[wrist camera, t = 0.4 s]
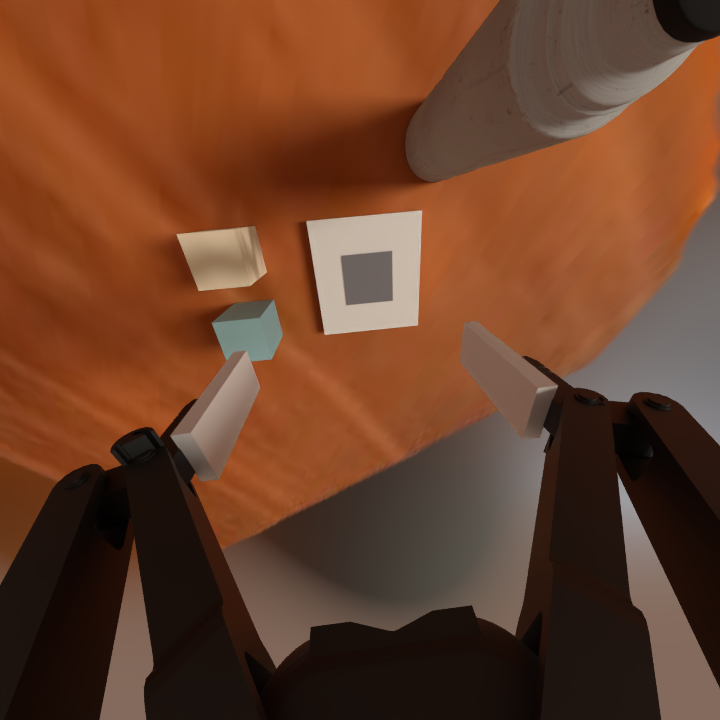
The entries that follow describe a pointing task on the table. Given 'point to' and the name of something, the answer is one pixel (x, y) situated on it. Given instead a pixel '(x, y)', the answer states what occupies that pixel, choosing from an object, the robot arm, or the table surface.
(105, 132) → the table surface
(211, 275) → the maple block
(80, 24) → the table surface
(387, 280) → the base plate
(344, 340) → the table surface
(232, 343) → the teal block
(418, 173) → the thermos bottle
